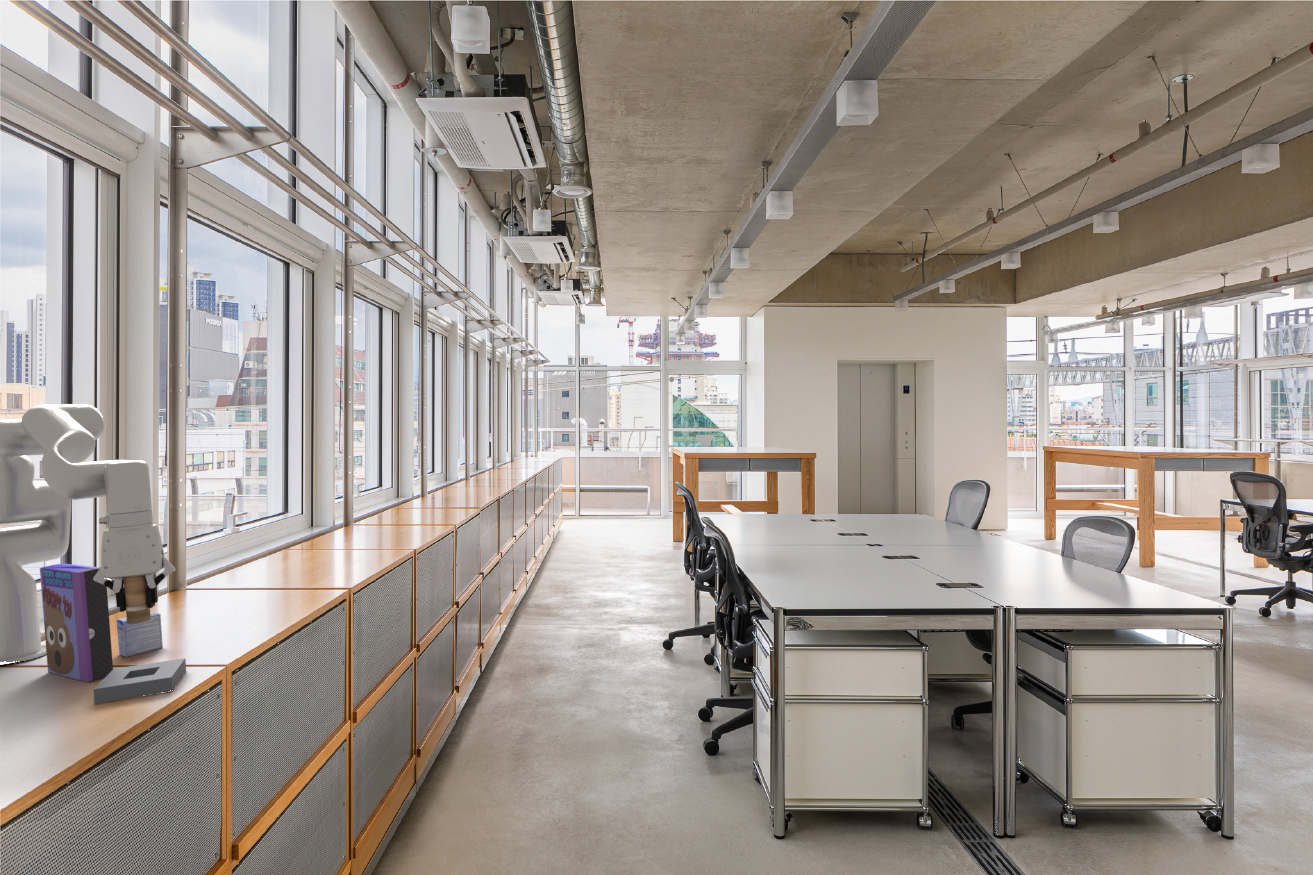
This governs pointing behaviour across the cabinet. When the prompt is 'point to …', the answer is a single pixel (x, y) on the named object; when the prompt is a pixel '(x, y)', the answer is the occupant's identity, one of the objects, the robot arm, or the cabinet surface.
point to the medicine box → (139, 635)
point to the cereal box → (76, 622)
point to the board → (139, 680)
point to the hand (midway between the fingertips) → (137, 607)
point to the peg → (136, 599)
